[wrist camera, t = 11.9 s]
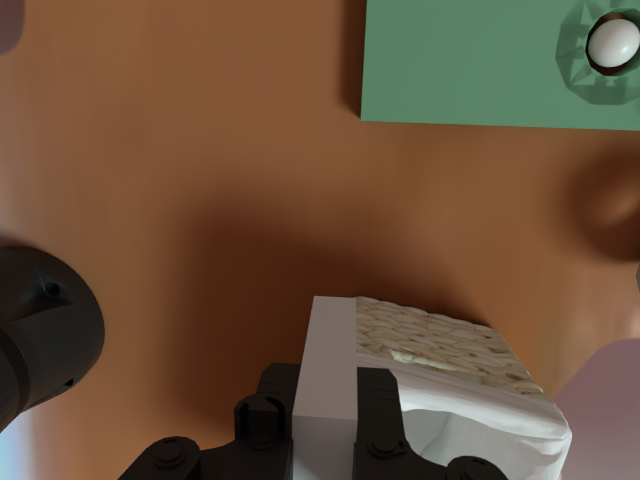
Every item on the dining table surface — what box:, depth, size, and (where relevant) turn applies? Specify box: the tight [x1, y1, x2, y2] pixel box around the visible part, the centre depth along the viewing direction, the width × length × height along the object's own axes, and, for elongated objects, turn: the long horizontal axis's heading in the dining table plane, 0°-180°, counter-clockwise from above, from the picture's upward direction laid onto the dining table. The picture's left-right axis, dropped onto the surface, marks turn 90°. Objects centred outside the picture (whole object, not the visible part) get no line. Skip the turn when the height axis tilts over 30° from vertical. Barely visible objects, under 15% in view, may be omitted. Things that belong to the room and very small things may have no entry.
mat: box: [360, 0, 640, 131], centre depth 35 cm, size 24×12×2 cm, turn 88°
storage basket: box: [354, 296, 572, 480], centre depth 40 cm, size 24×16×15 cm
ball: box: [588, 19, 640, 67], centre depth 34 cm, size 3×3×3 cm
